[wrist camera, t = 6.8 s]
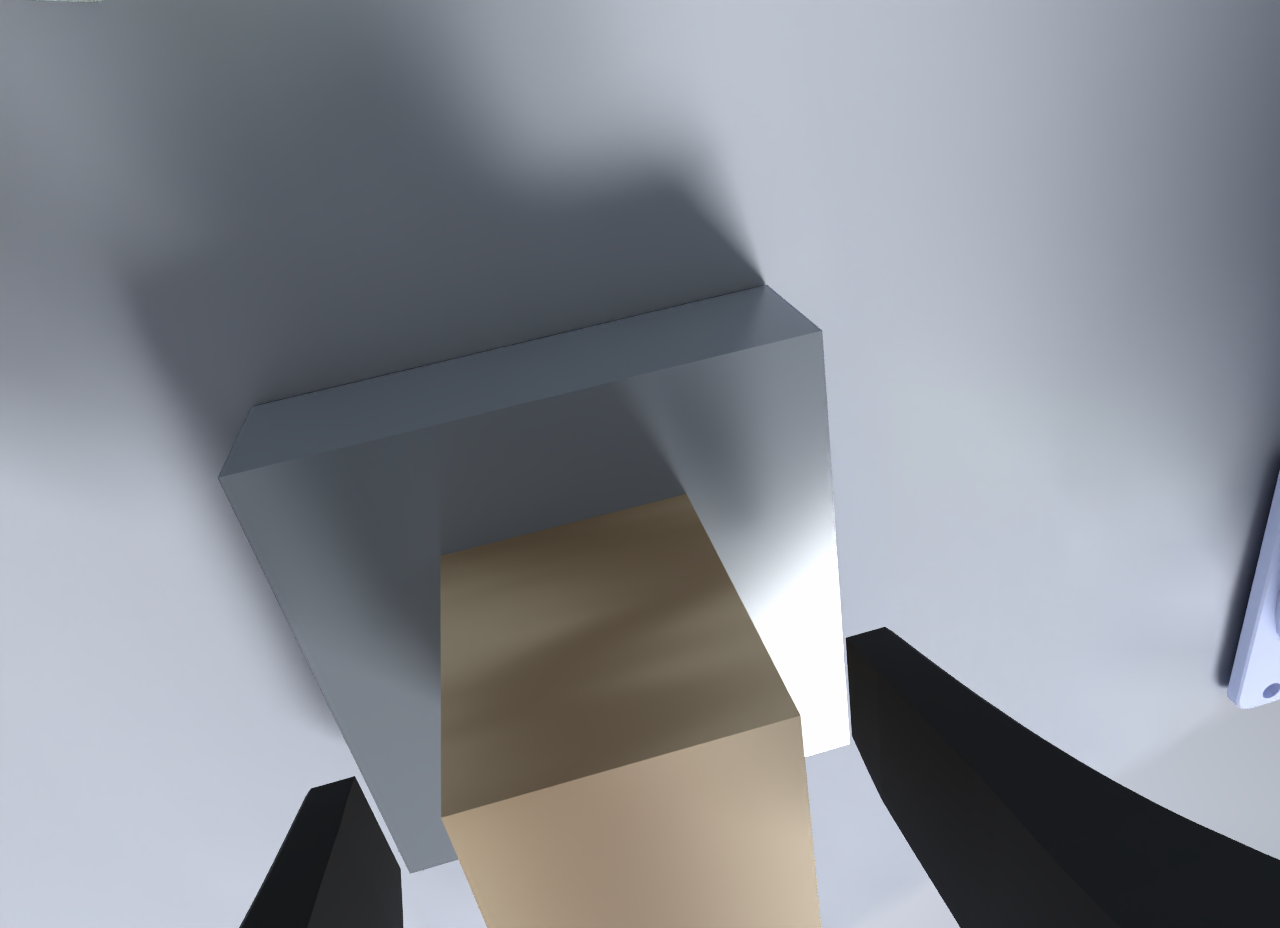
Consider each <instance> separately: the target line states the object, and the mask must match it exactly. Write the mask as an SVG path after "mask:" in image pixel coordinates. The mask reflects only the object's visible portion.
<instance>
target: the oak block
mask: <svg viewBox="0 0 1280 928" xmlns="http://www.w3.org/2000/svg"><path fill="white" fill-rule="evenodd" d="M440 598H441V819H442V821H443V824H444V826H445V828H446V831H447V833H448V836H449V838H450V840H451V843H452V845H453V847H454V850H455V852H456V854H457V857H458V859H459V862H460V864H461V866H462V869H463V871H464V873H465V876H466V878H467V880H468V883H469V885H470V888H471V890H472V892H473V895H474V897H475V899H476V902H477V904H478V906H479V909H480V911H481V914H482V916H483V918H484V921H485V923H486V925H487V928H821V921H820V911H819V900H818V890H817V880H816V869H815V859H814V848H813V838H812V827H811V817H810V807H809V796H808V786H807V775H806V765H805V755H804V744H803V734H802V723H801V715H800V713H799V711H798V709H797V707H796V705H795V703H794V701H793V700H792V698H791V696H790V694H789V692H788V690H787V688H786V686H785V684H784V682H783V680H782V678H781V676H780V674H779V672H778V670H777V668H776V667H775V665H774V663H773V661H772V659H771V657H770V655H769V653H768V651H767V649H766V647H765V645H764V643H763V641H762V639H761V637H760V635H759V634H758V632H757V630H756V628H755V626H754V624H753V622H752V620H751V618H750V616H749V614H748V612H747V610H746V608H745V606H744V604H743V602H742V600H741V599H740V597H739V595H738V593H737V591H736V589H735V587H734V585H733V583H732V581H731V579H730V577H729V575H728V573H727V571H726V569H725V567H724V566H723V564H722V562H721V560H720V558H719V556H718V554H717V552H716V550H715V548H714V546H713V544H712V542H711V540H710V538H709V536H708V534H707V533H706V531H705V529H704V527H703V525H702V523H701V521H700V519H699V517H698V515H697V513H696V511H695V509H694V507H693V505H692V503H691V501H690V500H689V498H688V496H687V494H683V495H679V496H675V497H671V498H668V499H664V500H660V501H656V502H652V503H648V504H644V505H640V506H636V507H632V508H628V509H624V510H620V511H616V512H612V513H608V514H604V515H600V516H596V517H592V518H589V519H585V520H581V521H577V522H573V523H569V524H565V525H561V526H557V527H553V528H549V529H545V530H541V531H537V532H533V533H529V534H525V535H521V536H517V537H513V538H510V539H506V540H502V541H498V542H494V543H490V544H486V545H482V546H478V547H474V548H470V549H466V550H462V551H458V552H454V553H450V554H446V555H442V556H440Z"/></svg>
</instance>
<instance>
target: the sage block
mask: <svg viewBox="0 0 1280 928" xmlns="http://www.w3.org/2000/svg"><path fill="white" fill-rule="evenodd" d="M37 1H73V2H102V1H103V0H37Z"/></svg>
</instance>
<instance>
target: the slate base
mask: <svg viewBox="0 0 1280 928" xmlns="http://www.w3.org/2000/svg"><path fill="white" fill-rule="evenodd" d="M218 479H219V481H220V483H221V485H222V487H223V490H224V492H225V494H226V496H227V498H228V500H229V502H230V504H231V506H232V508H233V510H234V512H235V514H236V516H237V518H238V520H239V522H240V525H241V527H242V529H243V531H244V533H245V535H246V537H247V539H248V541H249V543H250V545H251V547H252V549H253V551H254V553H255V555H256V557H257V560H258V562H259V564H260V566H261V568H262V570H263V572H264V574H265V576H266V578H267V580H268V582H269V584H270V586H271V588H272V590H273V592H274V595H275V597H276V599H277V601H278V603H279V605H280V607H281V609H282V611H283V613H284V615H285V617H286V619H287V621H288V623H289V625H290V627H291V629H292V632H293V634H294V636H295V638H296V640H297V642H298V644H299V646H300V648H301V650H302V652H303V654H304V656H305V658H306V660H307V662H308V664H309V667H310V669H311V671H312V673H313V675H314V677H315V679H316V681H317V683H318V685H319V687H320V689H321V691H322V693H323V695H324V697H325V699H326V702H327V704H328V706H329V708H330V710H331V712H332V714H333V716H334V718H335V720H336V722H337V724H338V726H339V728H340V730H341V732H342V734H343V737H344V739H345V741H346V743H347V745H348V747H349V749H350V751H351V753H352V755H353V757H354V759H355V761H356V763H357V765H358V767H359V769H360V772H361V774H362V776H363V778H364V780H365V782H366V784H367V786H368V788H369V790H370V792H371V794H372V796H373V798H374V800H375V802H376V804H377V807H378V809H379V811H380V813H381V815H382V817H383V819H384V821H385V823H386V825H387V827H388V829H389V831H390V833H391V835H392V837H393V839H394V842H395V844H396V846H397V848H398V850H399V852H400V854H401V856H402V858H403V860H404V862H405V864H406V866H407V868H408V870H409V872H410V874H411V873H414V872H417V871H421V870H424V869H428V868H431V867H434V866H438V865H441V864H445V863H448V862H451V861H455V860H458V857H457V854H456V852H455V850H454V847H453V845H452V843H451V840H450V838H449V836H448V833H447V831H446V828H445V826H444V824H443V821H442V819H441V598H440V556H442V555H446V554H450V553H454V552H458V551H462V550H466V549H470V548H474V547H478V546H482V545H486V544H490V543H494V542H498V541H502V540H506V539H510V538H513V537H517V536H521V535H525V534H529V533H533V532H537V531H541V530H545V529H549V528H553V527H557V526H561V525H565V524H569V523H573V522H577V521H581V520H585V519H589V518H592V517H596V516H600V515H604V514H608V513H612V512H616V511H620V510H624V509H628V508H632V507H636V506H640V505H644V504H648V503H652V502H656V501H660V500H664V499H668V498H671V497H675V496H679V495H683V494H687V496H688V498H689V500H690V501H691V503H692V505H693V507H694V509H695V511H696V513H697V515H698V517H699V519H700V521H701V523H702V525H703V527H704V529H705V531H706V533H707V534H708V536H709V538H710V540H711V542H712V544H713V546H714V548H715V550H716V552H717V554H718V556H719V558H720V560H721V562H722V564H723V566H724V567H725V569H726V571H727V573H728V575H729V577H730V579H731V581H732V583H733V585H734V587H735V589H736V591H737V593H738V595H739V597H740V599H741V600H742V602H743V604H744V606H745V608H746V610H747V612H748V614H749V616H750V618H751V620H752V622H753V624H754V626H755V628H756V630H757V632H758V634H759V635H760V637H761V639H762V641H763V643H764V645H765V647H766V649H767V651H768V653H769V655H770V657H771V659H772V661H773V663H774V665H775V667H776V668H777V670H778V672H779V674H780V676H781V678H782V680H783V682H784V684H785V686H786V688H787V690H788V692H789V694H790V696H791V698H792V700H793V701H794V703H795V705H796V707H797V709H798V711H799V713H800V715H801V723H802V734H803V744H804V755H805V757H807V756H811V755H814V754H817V753H821V752H824V751H828V750H831V749H834V748H838V747H841V746H845V745H848V744H850V739H849V724H848V710H847V695H846V680H845V665H844V650H843V635H842V620H841V605H840V590H839V575H838V560H837V545H836V530H835V515H834V500H833V485H832V470H831V455H830V440H829V426H828V411H827V396H826V381H825V366H824V351H823V336H822V330H821V329H820V328H818V327H817V326H816V325H815V324H814V323H812V322H811V321H810V320H809V319H808V318H806V317H805V316H804V315H803V314H802V313H800V312H799V311H798V310H797V309H795V308H794V307H793V306H792V305H791V304H789V303H788V302H787V301H786V300H785V299H783V298H782V297H781V296H780V295H779V294H777V293H776V292H775V291H774V290H773V289H771V288H770V287H769V286H768V285H764V286H760V287H756V288H752V289H747V290H743V291H739V292H735V293H730V294H726V295H722V296H718V297H714V298H709V299H705V300H701V301H697V302H692V303H688V304H684V305H680V306H676V307H671V308H667V309H663V310H659V311H654V312H650V313H646V314H642V315H637V316H633V317H629V318H625V319H621V320H616V321H612V322H608V323H604V324H599V325H595V326H591V327H587V328H583V329H578V330H574V331H570V332H566V333H561V334H557V335H553V336H549V337H545V338H540V339H536V340H532V341H528V342H523V343H519V344H515V345H511V346H506V347H502V348H498V349H494V350H490V351H485V352H481V353H477V354H473V355H468V356H464V357H460V358H456V359H452V360H447V361H443V362H439V363H435V364H430V365H426V366H422V367H418V368H413V369H409V370H405V371H401V372H397V373H392V374H388V375H384V376H380V377H375V378H371V379H367V380H363V381H359V382H354V383H350V384H346V385H342V386H337V387H333V388H329V389H325V390H320V391H316V392H312V393H308V394H304V395H299V396H295V397H291V398H287V399H282V400H278V401H274V402H270V403H266V404H261V405H257V406H253V407H251V409H250V411H249V414H248V416H247V418H246V420H245V422H244V424H243V426H242V428H241V430H240V432H239V435H238V437H237V439H236V441H235V443H234V445H233V447H232V449H231V451H230V453H229V456H228V458H227V460H226V462H225V464H224V466H223V468H222V470H221V472H220V474H219V477H218Z"/></svg>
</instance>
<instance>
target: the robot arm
mask: <svg viewBox="0 0 1280 928" xmlns="http://www.w3.org/2000/svg"><path fill="white" fill-rule="evenodd" d="M846 649H847V664H848V680H849V695H850V711H851V726H852V737H853V739H854V741H855V743H856V746H857V748H858V750H859V752H860V754H861V756H862V759H863V761H864V763H865V765H866V767H867V770H868V772H869V774H870V776H871V778H872V780H873V782H874V784H875V786H876V788H877V790H878V793H879V795H880V797H881V799H882V801H883V802H884V804H885V806H886V807H887V809H888V811H889V812H890V814H891V816H892V817H893V819H894V821H895V822H896V824H897V826H898V827H899V829H900V830H901V832H902V834H903V835H904V837H905V839H906V840H907V842H908V844H909V845H910V847H911V848H912V850H913V852H914V853H915V855H916V857H917V858H918V860H919V861H920V863H921V865H922V866H923V868H924V869H925V871H926V873H927V874H928V876H929V878H930V879H931V881H932V882H933V884H934V886H935V887H936V889H937V890H938V892H939V894H940V895H941V897H942V899H943V900H944V902H945V903H946V905H947V906H948V908H949V909H950V912H951V913H952V914H953V916H954V918H955V919H956V921H957V923H958V924H959V926H960V928H1280V860H1278V859H1276V858H1273V857H1271V856H1269V855H1266V854H1264V853H1262V852H1260V851H1257V850H1255V849H1253V848H1251V847H1248V846H1246V845H1244V844H1242V843H1239V842H1237V841H1235V840H1233V839H1231V838H1228V837H1226V836H1224V835H1222V834H1219V833H1217V832H1215V831H1213V830H1210V829H1208V828H1206V827H1204V826H1202V825H1199V824H1197V823H1195V822H1193V821H1191V820H1189V819H1186V818H1184V817H1182V816H1180V815H1178V814H1176V813H1174V812H1172V811H1170V810H1168V809H1166V808H1164V807H1162V806H1160V805H1158V804H1156V803H1154V802H1152V801H1150V800H1149V799H1147V798H1145V797H1143V796H1141V795H1139V794H1137V793H1135V792H1133V791H1132V790H1130V789H1128V788H1126V787H1124V786H1122V785H1120V784H1118V783H1117V782H1115V781H1113V780H1111V779H1110V778H1108V777H1106V776H1104V775H1102V774H1101V773H1099V772H1097V771H1095V770H1094V769H1092V768H1090V767H1089V766H1087V765H1085V764H1084V763H1082V762H1080V761H1078V760H1077V759H1075V758H1074V757H1072V756H1070V755H1069V754H1067V753H1065V752H1064V751H1062V750H1061V749H1059V748H1057V747H1056V746H1054V745H1052V744H1051V743H1049V742H1048V741H1046V740H1044V739H1043V738H1041V737H1040V736H1038V735H1037V734H1035V733H1033V732H1032V731H1030V730H1029V729H1027V728H1026V727H1024V726H1023V725H1021V724H1020V723H1018V722H1017V721H1015V720H1014V719H1012V718H1011V717H1009V716H1008V715H1006V714H1005V713H1003V712H1002V711H1000V710H999V709H998V708H996V707H995V706H993V705H992V704H990V703H989V702H987V701H986V700H984V699H983V698H981V697H980V696H979V695H977V694H976V693H974V692H973V691H972V690H970V689H969V688H967V687H966V686H965V685H963V684H962V683H960V682H959V681H958V680H956V679H955V678H954V677H952V676H951V675H949V674H948V673H947V672H945V671H944V670H943V669H941V668H940V667H939V666H937V665H936V664H935V663H933V662H932V661H931V660H929V659H928V658H927V657H925V656H924V655H923V654H921V653H920V652H919V651H917V650H916V649H915V648H913V647H912V646H911V645H909V644H908V643H907V642H906V641H904V640H903V639H902V638H900V637H899V636H898V635H896V634H895V633H894V632H892V631H891V630H889V629H888V628H886V627H883V628H879V629H876V630H872V631H869V632H865V633H861V634H858V635H854V636H851V637H847V638H846ZM1227 697H1228V698H1229V699H1230V700H1231V701H1232V702H1233V703H1234V704H1235V705H1237V706H1238V707H1239V708H1242V709H1248V708H1253V707H1256V706H1260V705H1263V704H1266V703H1269V702H1273V701H1276V700H1279V699H1280V471H1279V475H1278V479H1277V483H1276V488H1275V492H1274V496H1273V500H1272V504H1271V509H1270V513H1269V517H1268V521H1267V526H1266V530H1265V534H1264V538H1263V542H1262V547H1261V551H1260V555H1259V559H1258V564H1257V568H1256V572H1255V576H1254V580H1253V585H1252V589H1251V593H1250V597H1249V601H1248V606H1247V610H1246V614H1245V618H1244V623H1243V627H1242V631H1241V635H1240V639H1239V644H1238V648H1237V652H1236V656H1235V660H1234V665H1233V669H1232V673H1231V677H1230V682H1229V686H1228V690H1227ZM239 928H403V908H402V888H401V869H400V867H399V865H398V863H397V861H396V859H395V857H394V855H393V853H392V851H391V849H390V846H389V844H388V842H387V840H386V838H385V836H384V834H383V832H382V830H381V828H380V826H379V824H378V822H377V820H376V818H375V816H374V814H373V812H372V810H371V808H370V806H369V804H368V802H367V800H366V798H365V796H364V794H363V792H362V790H361V788H360V786H359V784H358V782H357V780H356V777H355V776H354V777H351V778H347V779H344V780H340V781H337V782H333V783H329V784H326V785H322V786H319V787H315V788H312V789H310V791H309V792H308V794H307V795H306V797H305V799H304V801H303V803H302V805H301V807H300V809H299V811H298V813H297V815H296V817H295V819H294V821H293V823H292V826H291V828H290V830H289V832H288V834H287V836H286V838H285V840H284V842H283V844H282V846H281V848H280V850H279V852H278V854H277V856H276V858H275V860H274V862H273V864H272V866H271V868H270V870H269V872H268V874H267V876H266V878H265V880H264V882H263V884H262V886H261V888H260V890H259V892H258V894H257V895H256V897H255V899H254V901H253V903H252V905H251V907H250V909H249V910H248V912H247V914H246V916H245V918H244V920H243V922H242V924H241V925H240V927H239Z"/></svg>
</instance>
